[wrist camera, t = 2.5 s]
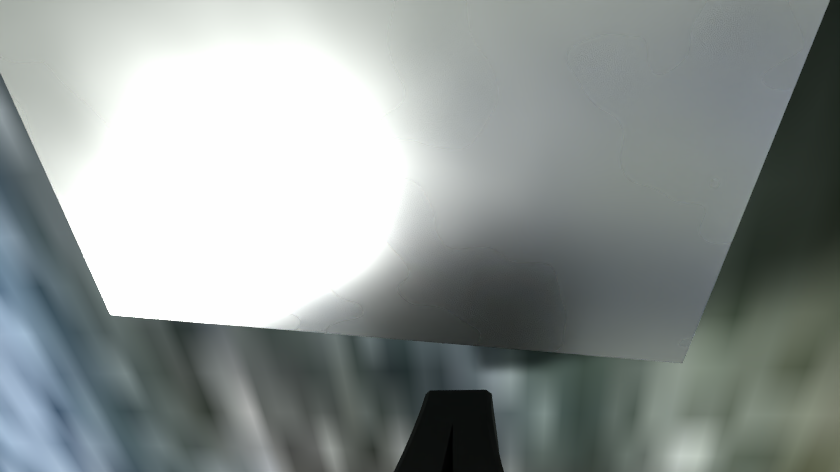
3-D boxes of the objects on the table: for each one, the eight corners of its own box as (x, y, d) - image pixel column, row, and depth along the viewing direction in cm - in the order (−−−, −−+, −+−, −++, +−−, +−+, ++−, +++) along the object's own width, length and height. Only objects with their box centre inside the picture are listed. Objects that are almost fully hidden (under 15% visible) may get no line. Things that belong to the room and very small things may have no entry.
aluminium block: (723, -196, 7) (935, -257, 4) (623, 205, 10) (682, 362, 7) (135, -188, 8) (-137, -230, 4) (225, 182, 11) (110, 314, 8)
